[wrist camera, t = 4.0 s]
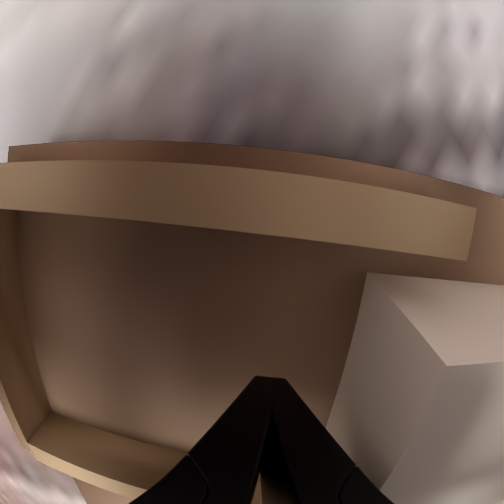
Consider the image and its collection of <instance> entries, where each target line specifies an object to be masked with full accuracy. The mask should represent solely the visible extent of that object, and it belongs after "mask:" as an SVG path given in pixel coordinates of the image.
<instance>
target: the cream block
mask: <svg viewBox="0 0 504 504" xmlns="http://www.w3.org/2000/svg"><path fill="white" fill-rule="evenodd" d="M325 428H326V429H327V430H328V432H329V433H330V434H331V435H332V437H333V438H334V439H335V440H336V441H337V443H338V444H339V445H340V446H341V447H342V449H343V450H344V451H345V452H346V453H347V454H348V456H349V457H350V458H351V459H352V460H353V461H354V463H355V464H356V465H355V466H358V467H359V468H360V469H361V471H362V472H363V473H364V474H365V475H366V476H367V477H368V478H369V480H370V481H371V482H372V483H373V484H374V485H375V486H376V487H377V488H378V489H379V490H380V491H381V492H382V493H383V494H384V495H385V496H386V497H387V498H389V499H390V500H391V501H392V502H393V503H394V504H504V285H495V284H484V283H473V282H463V281H452V280H442V279H431V278H421V277H411V276H401V275H391V274H381V273H371V272H367V275H366V280H365V285H364V290H363V295H362V299H361V304H360V308H359V313H358V317H357V321H356V325H355V329H354V333H353V337H352V341H351V345H350V349H349V352H348V356H347V360H346V363H345V367H344V370H343V374H342V377H341V381H340V384H339V387H338V391H337V394H336V397H335V400H334V403H333V407H332V410H331V413H330V416H329V419H328V422H327V425H326V427H325Z"/></svg>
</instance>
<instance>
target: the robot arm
mask: <svg viewBox="0 0 504 504" xmlns="http://www.w3.org/2000/svg"><path fill="white" fill-rule="evenodd" d="M355 465H356V464H355V463H354V461H353V460H352V459H351V458H350V457H349V456H348V454H347V453H346V452H345V451H344V450H343V449H342V447H341V446H340V445H339V444H338V443H337V441H336V440H335V439H334V438H333V437H332V435H331V434H330V433H329V432H328V430H327V429H326V428H325V427H324V426H323V424H322V423H321V422H320V421H319V420H318V418H317V417H316V416H315V415H314V413H313V412H312V411H311V410H310V408H309V407H308V406H307V405H306V403H305V402H304V401H303V400H302V398H301V397H300V396H299V395H298V393H297V392H296V391H295V390H294V388H293V387H292V386H291V384H290V383H289V382H288V381H287V379H285V378H279V377H268V376H258V375H257V376H254V377H253V378H252V380H251V381H250V382H249V383H248V384H247V386H246V387H245V388H244V389H243V390H242V392H241V393H240V394H239V395H238V396H237V398H236V399H235V400H234V401H233V402H232V403H231V405H230V406H229V407H228V408H227V409H226V410H225V412H224V413H223V414H222V415H221V416H220V417H219V418H218V420H217V421H216V422H215V423H214V424H213V425H212V426H211V428H210V429H209V430H208V431H207V432H206V433H205V434H204V435H203V436H202V438H201V439H200V440H199V441H198V442H197V443H196V444H195V445H194V446H193V447H192V448H191V450H190V451H189V452H188V453H187V455H185V456H184V457H183V458H182V459H181V460H180V461H179V462H178V463H177V464H176V465H175V466H174V467H173V468H172V469H171V470H170V471H169V472H168V473H167V474H166V475H165V476H164V477H163V478H162V479H160V480H159V481H158V482H157V483H156V484H154V485H153V486H152V487H150V488H149V489H148V490H147V491H145V492H144V493H143V494H141V495H140V496H139V497H137V498H136V499H134V500H133V501H131V502H130V503H129V504H252V501H253V497H254V493H255V489H256V485H257V481H258V477H259V473H260V480H261V496H262V504H394V503H393V502H392V501H391V500H390V499H389V498H387V497H386V496H385V495H384V494H383V493H382V492H381V491H380V490H379V489H378V488H377V487H376V486H375V485H374V484H373V483H372V482H371V481H370V480H369V478H368V477H367V476H366V475H365V474H364V473H363V472H362V471H361V469H360V468H359V467H358V466H355Z"/></svg>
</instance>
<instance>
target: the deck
mask: <svg viewBox="0 0 504 504" xmlns="http://www.w3.org/2000/svg"><path fill="white" fill-rule="evenodd" d="M59 160H118V161H150V162H171V163H188V164H202V165H215V166H227V167H238V168H248V169H258V170H267V171H275V172H284V173H292V174H299V175H307V176H314V177H321V178H328V179H334V180H341V181H347V182H353V183H359V184H365V185H371V186H376V187H382V188H387V189H392V190H397V191H402V192H407V193H412V194H417V195H422V196H426V197H431V198H435V199H440V200H444V201H449V202H453V203H457V204H461V205H465V206H469V207H473V208H477V210H476V217H475V222H474V228H473V233H472V239H471V244H470V248H469V253H468V257H467V261H462V260H455V259H448V258H441V257H435V256H427V255H420V254H413V253H406V252H399V251H391V250H384V249H377V248H369V247H361V246H354V245H346V244H338V243H330V242H322V241H314V240H306V239H298V238H290V237H282V236H273V235H265V234H256V233H248V232H239V231H230V230H221V229H212V228H203V227H194V226H184V225H175V224H165V223H155V222H145V221H135V220H125V219H115V218H104V217H93V216H82V215H71V214H60V213H48V212H36V211H24V210H17V232H18V248H19V260H20V270H21V279H22V286H23V294H24V300H25V306H26V312H27V318H28V323H29V328H30V333H31V338H32V342H33V347H34V351H35V355H36V359H37V363H38V367H39V370H40V374H41V378H42V381H43V384H44V388H45V391H46V394H47V397H48V400H49V403H50V406H51V409H52V412H55V413H57V414H60V415H62V416H65V417H67V418H70V419H72V420H75V421H78V422H80V423H83V424H86V425H88V426H91V427H94V428H97V429H100V430H103V431H106V432H109V433H112V434H116V435H119V436H122V437H126V438H129V439H133V440H136V441H140V442H144V443H148V444H152V445H156V446H160V447H164V448H169V449H173V450H178V451H183V452H189V451H190V450H191V448H192V447H193V446H194V445H195V444H196V443H197V442H198V441H199V440H200V439H201V438H202V436H203V435H204V434H205V433H206V432H207V431H208V430H209V429H210V428H211V426H212V425H213V424H214V423H215V422H216V421H217V420H218V418H219V417H220V416H221V415H222V414H223V413H224V412H225V410H226V409H227V408H228V407H229V406H230V405H231V403H232V402H233V401H234V400H235V399H236V398H237V396H238V395H239V394H240V393H241V392H242V390H243V389H244V388H245V387H246V386H247V384H248V383H249V382H250V381H251V380H252V378H253V377H254V376H257V375H258V376H268V377H279V378H285V379H287V381H288V382H289V383H290V384H291V386H292V387H293V388H294V390H295V391H296V392H297V393H298V395H299V396H300V397H301V398H302V400H303V401H304V402H305V403H306V405H307V406H308V407H309V408H310V410H311V411H312V412H313V413H314V415H315V416H316V417H317V418H318V420H319V421H320V422H321V423H322V424H323V426H324V427H326V425H327V422H328V419H329V416H330V413H331V410H332V407H333V403H334V400H335V397H336V394H337V391H338V387H339V384H340V381H341V377H342V374H343V370H344V367H345V363H346V360H347V356H348V352H349V349H350V345H351V341H352V337H353V333H354V329H355V325H356V321H357V317H358V313H359V308H360V304H361V299H362V295H363V290H364V285H365V280H366V275H367V272H371V273H381V274H391V275H401V276H411V277H421V278H431V279H442V280H452V281H463V282H473V283H484V284H495V285H504V198H503V197H500V196H497V195H494V194H491V193H488V192H484V191H481V190H477V189H474V188H471V187H467V186H463V185H460V184H456V183H452V182H449V181H445V180H441V179H437V178H433V177H429V176H425V175H420V174H416V173H412V172H407V171H403V170H398V169H394V168H389V167H384V166H379V165H374V164H369V163H363V162H358V161H352V160H346V159H341V158H334V157H328V156H322V155H315V154H308V153H301V152H293V151H285V150H277V149H268V148H259V147H249V146H238V145H226V144H212V143H196V142H175V141H78V142H58V143H43V144H30V145H20V146H10V147H9V152H8V163H10V162H29V161H59ZM73 479H74V480H75V482H76V484H77V486H78V488H79V490H80V492H81V493H82V495H83V497H84V499H85V501H86V502H87V504H129V503H130V502H131V501H133V500H134V499H132V498H129V497H126V496H123V495H119V494H116V493H114V492H111V491H108V490H105V489H102V488H99V487H97V486H94V485H91V484H89V483H86V482H84V481H81V480H79V479H77V478H74V477H73Z"/></svg>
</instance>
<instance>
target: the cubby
mask: <svg viewBox="0 0 504 504" xmlns="http://www.w3.org/2000/svg"><path fill="white" fill-rule="evenodd" d="M17 210H24V211H36V212H48V213H60V214H71V215H82V216H93V217H104V218H115V219H125V220H135V221H145V222H155V223H165V224H175V225H184V226H194V227H203V228H212V229H221V230H230V231H239V232H248V233H256V234H265V235H273V236H282V237H290V238H298V239H306V240H314V241H322V242H330V243H338V244H346V245H354V246H361V247H369V248H377V249H384V250H391V251H399V252H406V253H413V254H420V255H427V256H435V257H441V258H448V259H455V260H462V261H467V257H468V253H469V248H470V244H471V239H472V233H473V228H474V222H475V217H476V210H477V208H473V207H469V206H465V205H461V204H457V203H453V202H449V201H444V200H440V199H435V198H431V197H426V196H422V195H417V194H412V193H407V192H402V191H397V190H392V189H387V188H382V187H376V186H371V185H365V184H359V183H353V182H347V181H341V180H334V179H328V178H321V177H314V176H307V175H299V174H292V173H284V172H275V171H267V170H258V169H248V168H238V167H227V166H215V165H202V164H188V163H171V162H150V161H118V160H59V161H29V162H10V163H0V400H1V403H2V405H3V408H4V410H5V412H6V414H7V417H8V419H9V421H10V423H11V425H12V428H13V430H14V432H15V434H16V436H17V438H18V440H19V442H20V444H21V446H23V447H24V448H26V449H28V450H30V451H32V453H33V455H34V457H35V459H36V460H38V461H40V462H42V463H44V464H46V465H48V466H50V467H52V468H54V469H56V470H59V471H61V472H63V473H65V474H67V475H70V476H72V477H74V478H77V479H79V480H81V481H84V482H86V483H89V484H91V485H94V486H97V487H99V488H102V489H105V490H108V491H111V492H114V493H116V494H119V495H123V496H126V497H129V498H132V499H136V498H137V497H139V496H140V495H141V494H143V493H144V492H145V491H147V490H148V489H149V488H150V487H152V486H153V485H154V484H156V483H157V482H158V481H159V480H160V479H162V478H163V477H164V476H165V475H166V474H167V473H168V472H169V471H170V470H171V469H172V468H173V467H174V466H175V465H176V464H177V463H178V462H179V461H180V460H181V459H182V458H183V457H184V456H185V455H187V453H188V452H183V451H178V450H173V449H169V448H164V447H160V446H156V445H152V444H148V443H144V442H140V441H136V440H133V439H129V438H126V437H122V436H119V435H116V434H112V433H109V432H106V431H103V430H100V429H97V428H94V427H91V426H88V425H86V424H83V423H80V422H78V421H75V420H72V419H70V418H67V417H65V416H62V415H60V414H57V413H55V412H52V409H51V406H50V403H49V400H48V397H47V394H46V391H45V388H44V384H43V381H42V378H41V374H40V370H39V367H38V363H37V359H36V355H35V351H34V347H33V342H32V338H31V333H30V328H29V323H28V318H27V312H26V306H25V300H24V294H23V286H22V279H21V270H20V260H19V248H18V232H17ZM252 504H262V496H261V480H260V473H259V477H258V481H257V485H256V489H255V493H254V497H253V501H252Z"/></svg>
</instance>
